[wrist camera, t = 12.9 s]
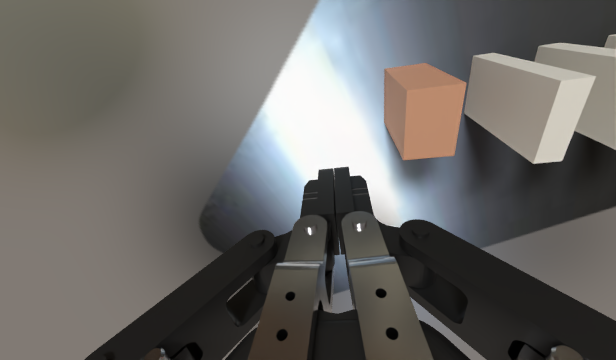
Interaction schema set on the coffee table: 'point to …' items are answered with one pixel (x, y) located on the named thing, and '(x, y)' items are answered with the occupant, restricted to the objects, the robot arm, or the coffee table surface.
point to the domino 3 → (605, 90)
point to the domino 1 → (422, 110)
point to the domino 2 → (527, 104)
